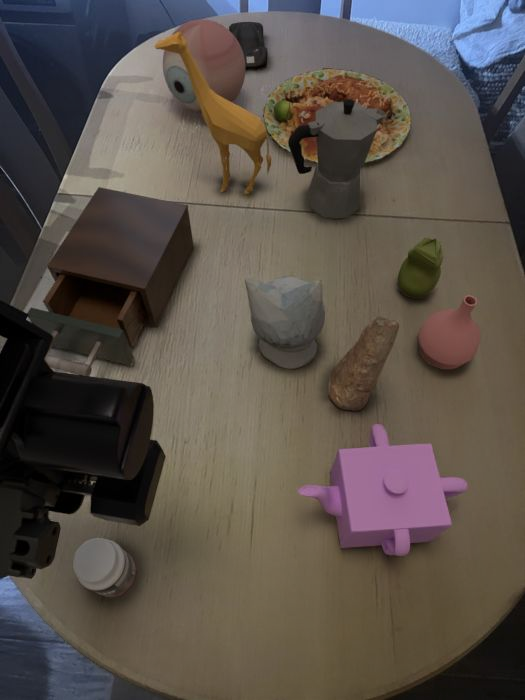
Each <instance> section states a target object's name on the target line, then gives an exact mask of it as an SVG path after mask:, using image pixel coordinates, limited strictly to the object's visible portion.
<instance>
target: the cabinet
mask: <svg viewBox="0 0 525 700" xmlns="http://www.w3.org/2000/svg"><path fill="white" fill-rule="evenodd" d="M193 238H194V237H193V231H192V226H191V219H190V212H189V207H188V205H187V204H184V203H178V202H175V201H168V200H164V199H159V198H154V197H149V196H145V195H140V194H134V193H130V192H125V191H121V190H116V189H111V188H105V187H101V186H98V187H97V189H96V191H95V192H94V193H93V195H92V196H91V198H90V200H89V201H88V202H87V204H86V206H85V207H84V209H83V211H81V214H80V215H79V216H78V218H77V219H76V221H75V223H73V225H72V227H71V229H70V230H69V231H68V233H67V235H66V236H65V238H64V239H63V241H62V242H61V244H60V245H59V247H58V249H57V250H56V251H55V253H54V254H53V256H52V257H51V259H50V261H49V262H48V264H47V265H46V267H47V270H48V271H49V273H50V274H51V277H52V279H53V280H54V282H55V281H56V280H57V278H58V276H59V275H60V273H62V274H66V275H70V276H75V277H79V278H83V279H88V280H92V281H96V282H101V283H105V284H109V285H113V286H118V287H122V288H126V289H131V290H135V291H139V292H140V293H141V296H142V299H143V302H144V306H145V309H146V312H147V315H148V316H147V318H146V320H145V323H144V325H145V326H148V327H153V328H157V327H158V326H159V324H160V322H161V319H162V317H163V315H164V313H165V310H166V308H167V307H168V304H169V302H170V300H171V298H172V295H173V294H174V292H175V290H176V287H177V285H178V283H179V281H180V279H181V277H182V274H183V272H184V270H185V268H186V266H187V264H188V262H189V259H190V258H191V255H192V253H193V251H194V248H195V245H194V239H193ZM144 325H143V326H144Z"/></svg>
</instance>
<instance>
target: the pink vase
mask: <svg viewBox="0 0 525 700" xmlns="http://www.w3.org/2000/svg"><path fill="white" fill-rule="evenodd" d="M477 303H478V300H477V298H476V297H475V296H473V295H466V296H464V297H463V299H462V301H461V303H460V305H459V307H457V308H455V309H453V308H444V309H438V310H436V311H434V312H433V313H431V314H430V315H429V317H428V318H427V319H426V320H425V321H424V322H423V323H422V324H421V326H420V328H419V331H418V335H417V338H418V339H417V341H418V349H419V353H420V355H421V356H422V358H423V360H425V361H426V362H427V363H428V364H429V365H431V366H433V367H435V368H437V369H441V370H453V369H457V368H459V367H460V366H462V365H464V364H466V363H468V362H469V361H472V360H473V358H474V356H476V354H477V352H478V349H479V346H480V343H481V336H482V334H481V330H480V327H479V325H478V323H477V322H476V321H475V319H474V318H473V317H472V315H471V314H472V312H473V310H474V309H475V307H476V305H477Z"/></svg>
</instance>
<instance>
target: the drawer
mask: <svg viewBox="0 0 525 700" xmlns="http://www.w3.org/2000/svg"><path fill="white" fill-rule="evenodd" d="M42 302H43V304H44V306H45V308H46V309H47V310H43V309H39V308H36V307H35V308H34V307H30V308H29V309H28V311H27V312H26V313H27V314H29V315H28V317H27V319H29V321H30V322H31V323H33V324H35V325H36V326H38V327H39V328H41V329H43V330H44V331H46V332H48V333H49V334H51V335H52V336H53V337H54V339H53V341H52V344H51V346H50V348H49V351H48V353H47V355H46V358H45V361H46V362H47V364H48V365H49V367H50V368H51V369H55V370H59V371H63V372H65V373H69V374H76V375H83V376H90V375H91V374H92V365H93V363H94V362H95V360H96V358H100V359H104V360H107V361H111V362H115V363H119V364H122V365H127V366H132V365H133V363H134V361H135V356H134V354H133V352H132V349H131V347H132V348H133V347H134V345H135V343H136V341H137V339H138V337H139V335H140V333H141V330H142V328H143V327H144V323H145V320H146V318H147V316H148V315H147V312H146V309H145V306H144V302H143V299H142V296H141V293H140V292H139V291H135V290H131V289H126V288H122V287H118V286H113V285H109V284H105V283H101V282H96V281H92V280H88V279H83V278H79V277H75V276H70V275H66V274H62V273H60V275H59V276H58V278H57V280H56V281H55V280H54V283H53V284H52V286H51V288H50V289H49V291H48V292H47V293H46V296H45V297H44V298H43V300H42ZM53 347H56V348H59V349H64V350H68V351H72V352H75V353H79V354H83V355H87V356H88V357H87V359H86V361H85V362H84V363H81V362H76V361H73V360H70V359H66V358H62V357H57V356H54V355H50V354H49V352H50V351H51V349H52V348H53Z"/></svg>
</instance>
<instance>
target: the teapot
mask: <svg viewBox="0 0 525 700" xmlns="http://www.w3.org/2000/svg"><path fill="white" fill-rule="evenodd" d="M329 476H330V483H331V485H327V486H325V485H319V484H306V485H303V486H301V487H299V488H298V493H299V495H301V496H303V497H307V498H314V499H316V500H317V501H318V502H319V504H320V506H321V507H322V509H323V510H324V511H325V512H326V513H328V514H330V515H332V516H335V518H336V524H337V532H338V539H339V546H340V549H348V548H361V547H362V548H364V547H377V546H381V547H382V551H383V552H384V554H386V555H387V556H397V557H404V556H406V555H408V554H409V553H410V551H411V544H417V543H418V544H419V543H430V542H433V540H435V539H436V538H438V537H439V536H440V535H441V534H443V533H444V532H445V531H447V530H448V529H449V528H451V527H452V526H453V524H452V523H453V522H452V518H451V516H450V511H449V507H448V504H447V499H450V498H453V497H456V496H459V495H462V494H464V493H465V492H467V490H468V488H469V487H468V482H467V481H466V480H465V479H464V478H462V477H455V476H442V477H441V475H440V471H439V469H438V464H437V460H436V457H435V453H434V448H433V446H432V443H431V442H430V443H416V444H399V445H398V444H397V445H390V440H389V436H388V433H387V431H386V428H385V426H384V425H382V424H381V423H374V424H373V425H371V427H370V431H369V446H368V447H367V446H366V447H365V446H364V447H351V448H339V449H337V452H336V454H335V458H334V461H333V463H332V465H331V469H330V472H329Z"/></svg>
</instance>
